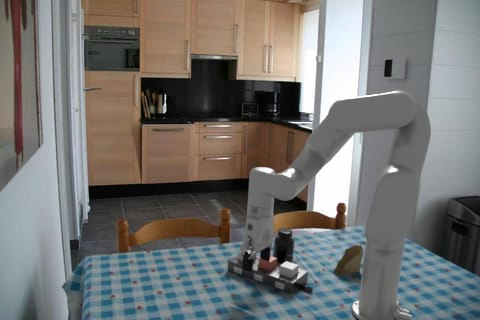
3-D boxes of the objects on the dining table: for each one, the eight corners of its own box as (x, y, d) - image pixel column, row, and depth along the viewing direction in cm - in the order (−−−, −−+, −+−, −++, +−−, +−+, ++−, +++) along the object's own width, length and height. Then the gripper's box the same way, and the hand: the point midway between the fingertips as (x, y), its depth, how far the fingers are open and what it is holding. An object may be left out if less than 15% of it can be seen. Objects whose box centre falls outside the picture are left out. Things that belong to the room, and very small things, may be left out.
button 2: (275, 275, 135) (276, 257, 134) (269, 280, 132) (270, 262, 131) (264, 271, 137) (265, 254, 136) (257, 276, 134) (258, 258, 133)
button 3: (255, 268, 139) (256, 251, 138) (248, 273, 136) (249, 255, 135) (244, 265, 141) (245, 248, 140) (237, 269, 138) (238, 251, 137)
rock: (336, 274, 135) (368, 270, 135) (331, 247, 138) (362, 244, 139) (330, 280, 144) (359, 277, 145) (325, 254, 148) (354, 251, 148)
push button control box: (318, 287, 130) (320, 275, 129) (303, 300, 122) (305, 287, 121) (245, 261, 145) (245, 250, 144) (227, 272, 137) (227, 260, 136)
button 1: (297, 283, 131) (298, 265, 130) (290, 288, 128) (292, 269, 126) (284, 279, 133) (286, 261, 132) (278, 284, 130) (279, 265, 129)
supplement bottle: (291, 269, 141) (294, 235, 139) (271, 267, 142) (273, 232, 140) (293, 261, 148) (296, 228, 145) (273, 258, 149) (276, 225, 146)
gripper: (255, 220, 116) (250, 279, 119) (285, 206, 130) (281, 259, 133) (232, 214, 120) (229, 271, 123) (264, 200, 134) (260, 252, 137)
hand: (256, 264), depth 128 cm, fingers open, 9 cm apart
